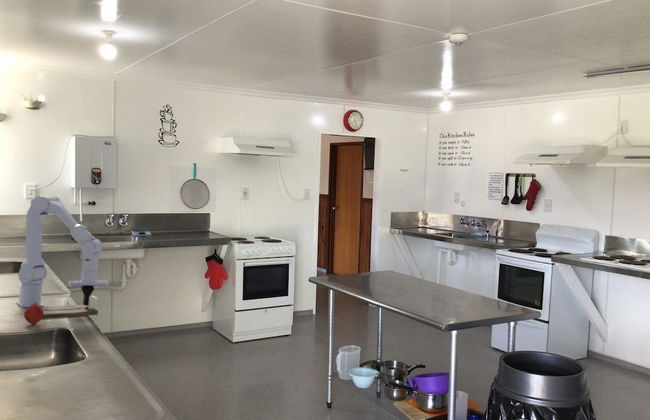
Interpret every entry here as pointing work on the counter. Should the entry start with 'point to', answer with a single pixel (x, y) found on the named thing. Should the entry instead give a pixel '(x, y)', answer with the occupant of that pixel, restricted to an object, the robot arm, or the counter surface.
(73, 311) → the fader console
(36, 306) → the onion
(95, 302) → the fader knob
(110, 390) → the counter surface
